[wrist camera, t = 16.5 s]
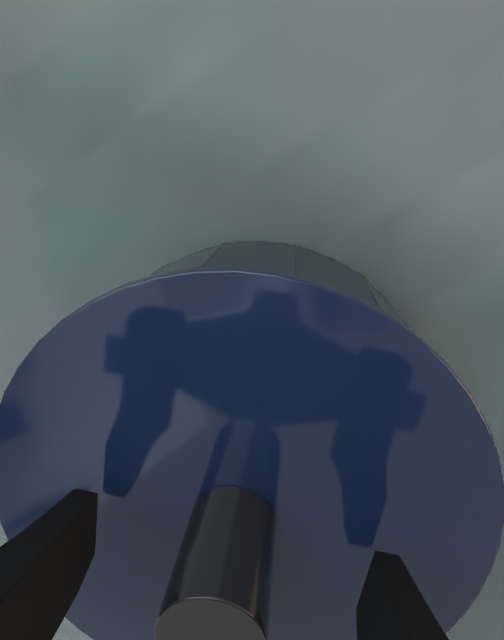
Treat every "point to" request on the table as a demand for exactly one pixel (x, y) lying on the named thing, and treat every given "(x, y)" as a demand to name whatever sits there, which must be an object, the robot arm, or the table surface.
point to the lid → (250, 457)
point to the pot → (285, 266)
